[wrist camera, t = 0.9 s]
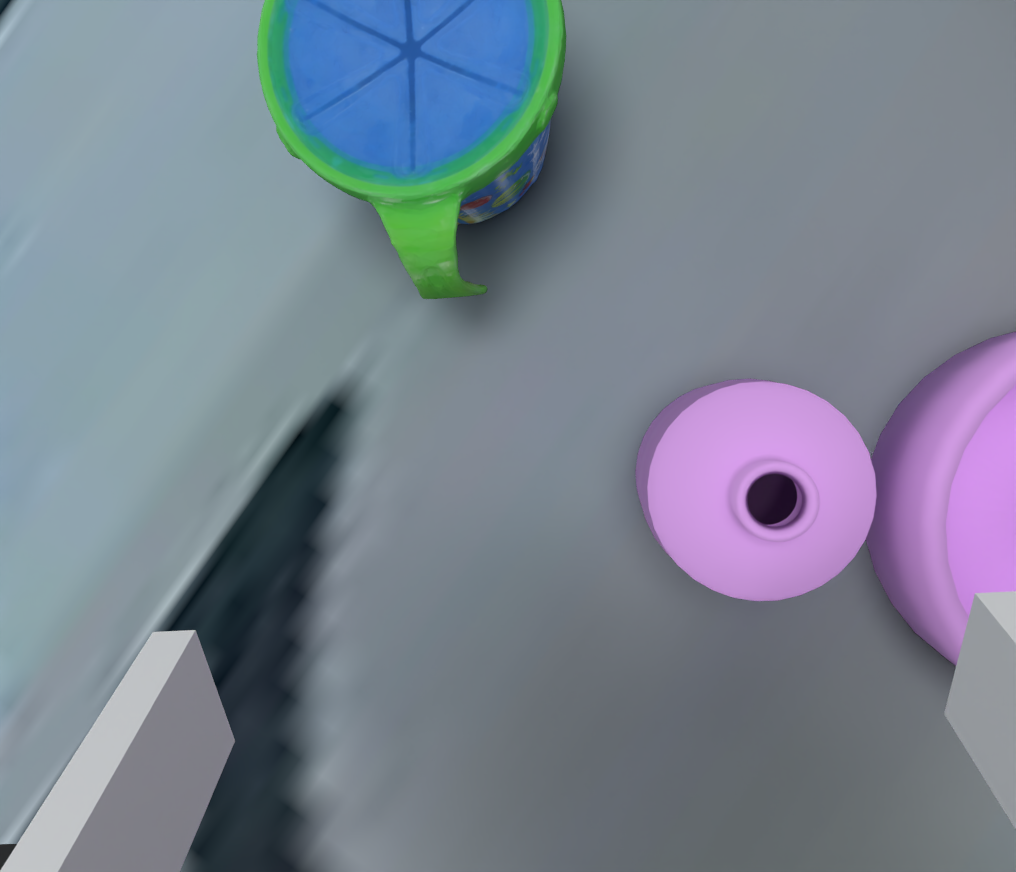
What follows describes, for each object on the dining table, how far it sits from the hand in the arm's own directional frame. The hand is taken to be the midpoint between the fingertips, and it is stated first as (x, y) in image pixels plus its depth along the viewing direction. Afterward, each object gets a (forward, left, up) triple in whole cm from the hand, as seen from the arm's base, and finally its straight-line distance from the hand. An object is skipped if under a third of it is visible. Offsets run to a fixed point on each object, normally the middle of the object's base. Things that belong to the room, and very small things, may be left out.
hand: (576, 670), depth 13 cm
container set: (-5, -13, -22) cm, 26 cm away
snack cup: (+18, -2, -21) cm, 28 cm away
